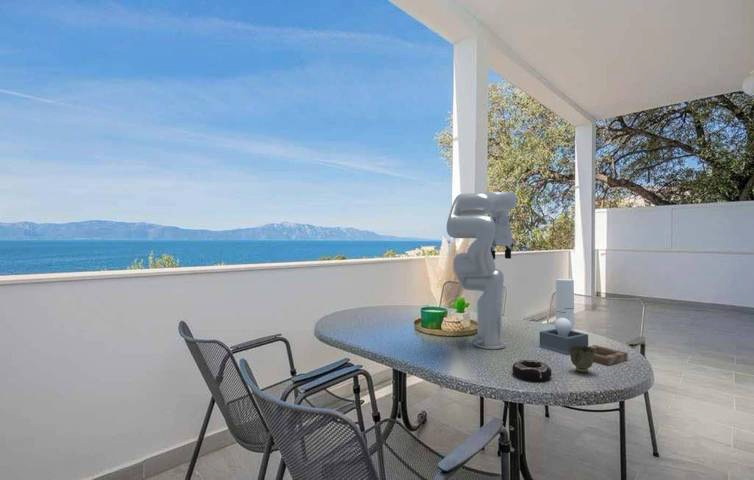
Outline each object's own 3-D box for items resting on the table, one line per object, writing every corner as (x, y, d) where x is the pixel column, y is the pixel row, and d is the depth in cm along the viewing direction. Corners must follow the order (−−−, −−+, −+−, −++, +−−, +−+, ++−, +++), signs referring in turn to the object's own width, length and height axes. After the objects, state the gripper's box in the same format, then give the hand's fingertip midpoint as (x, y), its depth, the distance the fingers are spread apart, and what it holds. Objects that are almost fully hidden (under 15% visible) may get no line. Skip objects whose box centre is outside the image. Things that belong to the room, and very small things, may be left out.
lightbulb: (564, 348, 151) (564, 320, 151) (551, 344, 156) (551, 317, 156) (575, 346, 154) (575, 318, 154) (561, 342, 159) (561, 315, 159)
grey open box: (568, 354, 147) (568, 338, 147) (539, 346, 157) (539, 331, 157) (588, 349, 153) (588, 334, 153) (559, 342, 164) (559, 327, 164)
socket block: (608, 365, 134) (608, 358, 134) (575, 356, 144) (575, 349, 144) (627, 360, 140) (627, 353, 140) (594, 351, 150) (594, 345, 150)
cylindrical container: (575, 337, 170) (575, 280, 170) (558, 337, 172) (558, 280, 171) (571, 333, 177) (571, 278, 177) (554, 333, 179) (554, 278, 178)
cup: (564, 368, 132) (564, 344, 132) (585, 367, 132) (585, 344, 132) (578, 376, 124) (577, 351, 124) (600, 375, 125) (599, 350, 125)
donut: (511, 380, 122) (511, 367, 122) (513, 368, 133) (513, 356, 133) (552, 385, 118) (552, 372, 118) (550, 372, 128) (550, 360, 128)
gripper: (491, 221, 171) (491, 260, 171) (520, 221, 179) (520, 258, 179) (479, 221, 177) (479, 259, 177) (507, 221, 185) (507, 257, 186)
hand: (500, 258), depth 178 cm, fingers open, 9 cm apart
